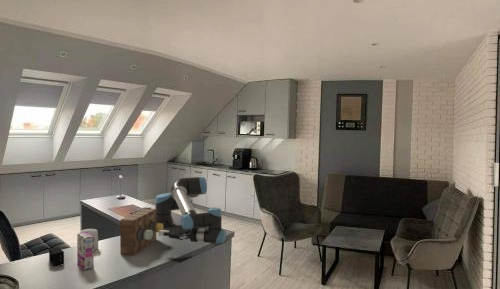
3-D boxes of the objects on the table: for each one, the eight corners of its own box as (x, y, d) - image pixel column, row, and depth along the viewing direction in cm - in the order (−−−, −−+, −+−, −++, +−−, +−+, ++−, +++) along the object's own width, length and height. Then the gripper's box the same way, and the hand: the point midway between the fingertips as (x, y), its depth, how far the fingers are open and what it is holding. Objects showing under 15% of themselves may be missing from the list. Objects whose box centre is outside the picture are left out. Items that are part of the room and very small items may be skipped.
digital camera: (46, 262, 170) (46, 249, 170) (58, 259, 174) (57, 246, 173) (52, 267, 163) (52, 254, 162) (64, 264, 167) (63, 251, 166)
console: (145, 238, 208) (144, 208, 208) (158, 239, 206) (158, 209, 206) (120, 254, 181) (120, 219, 180) (135, 255, 179) (135, 220, 178)
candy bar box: (94, 267, 162) (94, 236, 162) (83, 270, 159) (83, 238, 158) (87, 261, 170) (86, 231, 170) (76, 264, 167) (76, 233, 166)
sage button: (148, 237, 188) (148, 228, 188) (153, 238, 187) (153, 228, 187) (143, 240, 182) (143, 231, 182) (148, 241, 182) (148, 231, 182)
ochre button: (159, 230, 202) (159, 222, 202) (163, 231, 201) (163, 222, 201) (155, 233, 196) (154, 224, 196) (159, 233, 196) (159, 224, 195)
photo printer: (78, 251, 184) (78, 230, 184) (80, 249, 189) (80, 228, 188) (97, 250, 187) (97, 229, 186) (99, 247, 191) (98, 227, 191)
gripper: (194, 245, 173) (154, 243, 177) (202, 238, 186) (164, 235, 190) (194, 232, 173) (154, 229, 177) (202, 225, 186) (164, 223, 190)
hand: (159, 232), depth 183 cm, fingers closed
